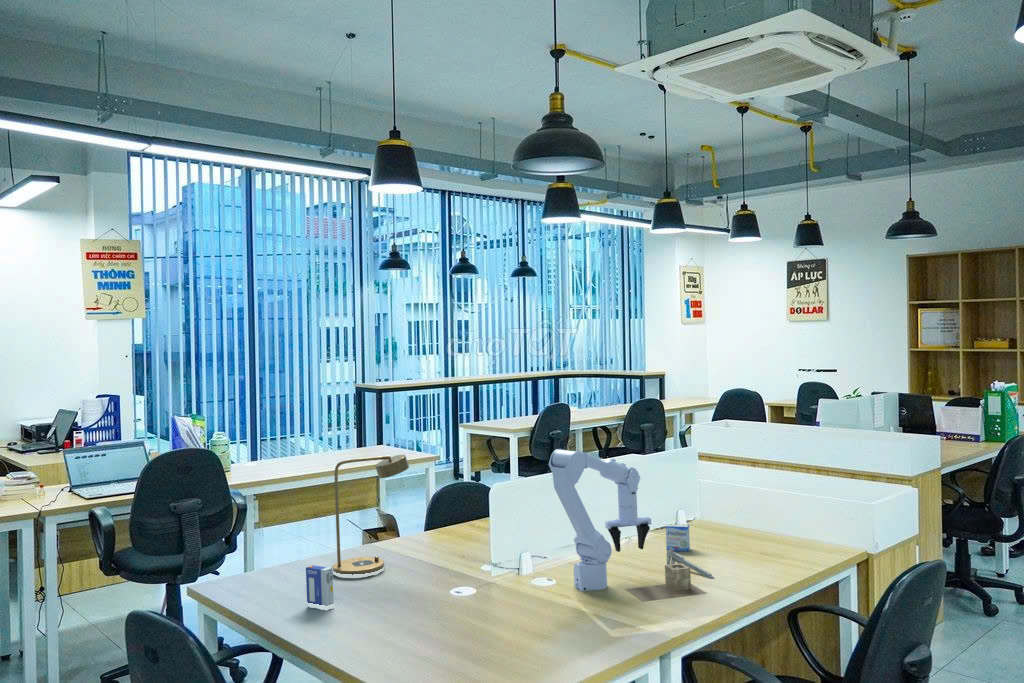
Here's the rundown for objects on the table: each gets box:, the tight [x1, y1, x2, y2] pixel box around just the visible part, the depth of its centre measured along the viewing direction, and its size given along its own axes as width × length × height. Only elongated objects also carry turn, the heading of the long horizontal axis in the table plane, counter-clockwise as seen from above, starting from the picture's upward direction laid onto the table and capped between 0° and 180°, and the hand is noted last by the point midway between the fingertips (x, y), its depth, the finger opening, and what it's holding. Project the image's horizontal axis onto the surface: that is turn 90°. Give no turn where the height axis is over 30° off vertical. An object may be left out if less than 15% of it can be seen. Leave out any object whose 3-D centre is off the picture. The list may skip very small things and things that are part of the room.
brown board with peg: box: [625, 567, 707, 603], centre depth 222 cm, size 20×12×7 cm, turn 105°
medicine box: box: [665, 523, 691, 552], centre depth 272 cm, size 8×4×9 cm, turn 73°
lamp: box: [331, 454, 410, 575], centre depth 262 cm, size 17×27×38 cm, turn 113°
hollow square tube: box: [664, 563, 692, 591], centre depth 225 cm, size 5×5×6 cm
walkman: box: [305, 564, 335, 606], centre depth 223 cm, size 8×3×12 cm, turn 60°
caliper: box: [665, 547, 715, 580], centre depth 246 cm, size 20×1×6 cm, turn 31°
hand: (629, 549), depth 239 cm, fingers open, 7 cm apart
